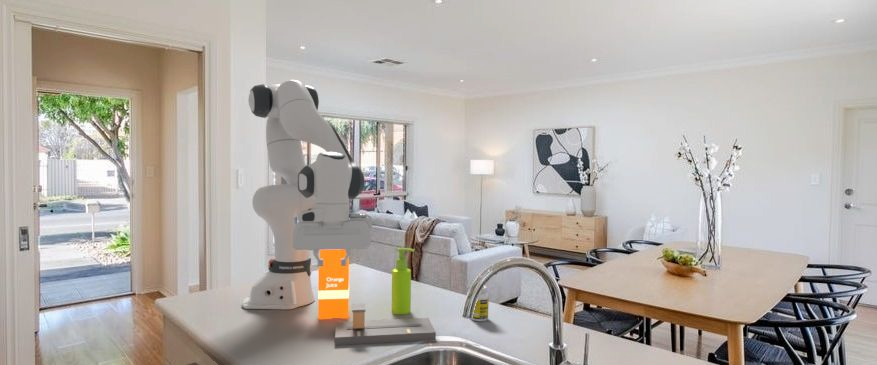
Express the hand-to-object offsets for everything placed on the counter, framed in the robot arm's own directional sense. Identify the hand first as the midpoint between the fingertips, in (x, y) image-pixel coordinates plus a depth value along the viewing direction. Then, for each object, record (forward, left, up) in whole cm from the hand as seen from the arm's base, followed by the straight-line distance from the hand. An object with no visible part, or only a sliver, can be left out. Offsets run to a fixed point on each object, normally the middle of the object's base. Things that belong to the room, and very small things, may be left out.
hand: (332, 265), depth 127 cm
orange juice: (0, +19, -19) cm, 27 cm away
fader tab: (+7, 0, -17) cm, 18 cm away
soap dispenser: (+21, +19, -19) cm, 34 cm away
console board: (+14, 0, -19) cm, 24 cm away
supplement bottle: (+43, +9, -19) cm, 48 cm away
